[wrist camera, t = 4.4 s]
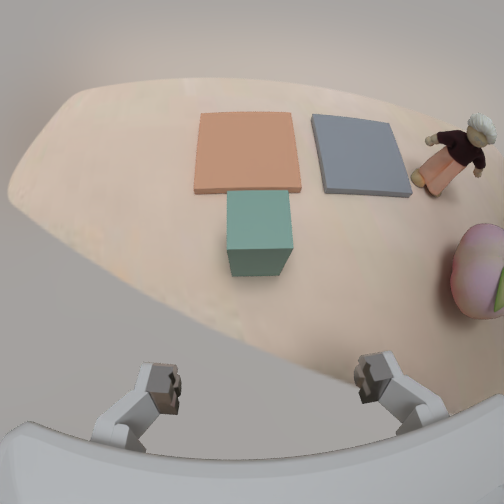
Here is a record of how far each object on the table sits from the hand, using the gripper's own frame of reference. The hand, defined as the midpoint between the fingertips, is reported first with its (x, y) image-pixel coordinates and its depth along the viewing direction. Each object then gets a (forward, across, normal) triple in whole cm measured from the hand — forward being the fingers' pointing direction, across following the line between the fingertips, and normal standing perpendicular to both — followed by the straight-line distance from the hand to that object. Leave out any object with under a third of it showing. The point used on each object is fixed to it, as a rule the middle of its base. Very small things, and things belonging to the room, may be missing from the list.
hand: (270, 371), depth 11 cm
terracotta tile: (+22, 0, -6) cm, 23 cm away
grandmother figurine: (+20, -21, -4) cm, 29 cm away
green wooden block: (+14, 0, +2) cm, 14 cm away
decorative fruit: (+11, -22, +5) cm, 25 cm away
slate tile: (+22, -12, -6) cm, 26 cm away
